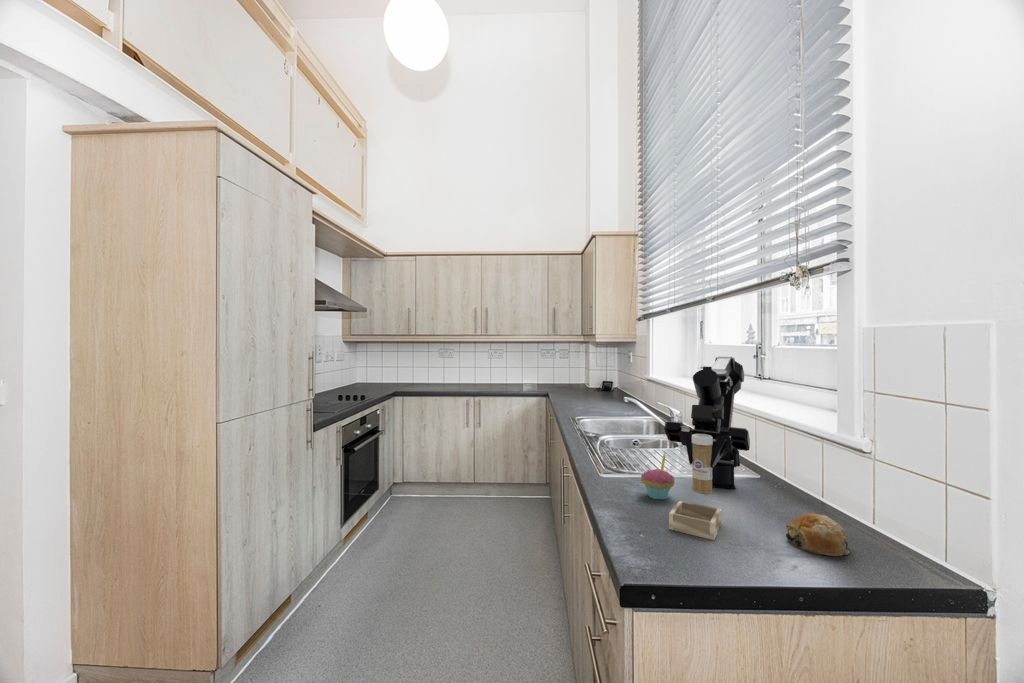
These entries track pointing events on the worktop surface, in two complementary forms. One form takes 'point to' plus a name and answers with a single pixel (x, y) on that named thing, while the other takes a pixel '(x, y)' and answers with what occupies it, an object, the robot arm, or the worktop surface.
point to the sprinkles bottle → (702, 463)
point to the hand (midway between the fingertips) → (700, 465)
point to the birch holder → (695, 519)
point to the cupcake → (658, 482)
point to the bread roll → (818, 535)
